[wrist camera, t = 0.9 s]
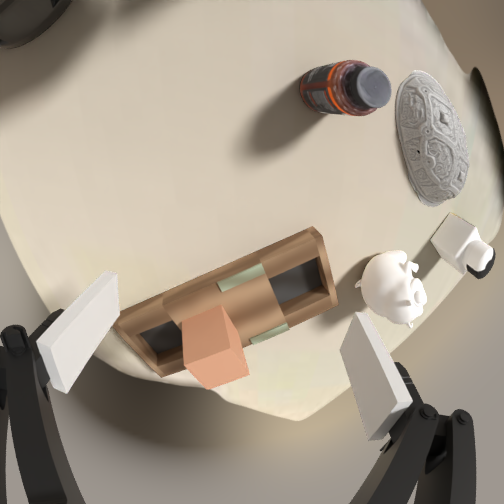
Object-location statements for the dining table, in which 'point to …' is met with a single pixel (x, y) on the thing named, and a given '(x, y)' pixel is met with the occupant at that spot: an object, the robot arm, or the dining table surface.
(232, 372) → the block
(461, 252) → the medicine bottle
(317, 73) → the supplement bottle
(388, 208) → the dining table surface
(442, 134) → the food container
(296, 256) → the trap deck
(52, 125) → the dining table surface
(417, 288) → the figurine
